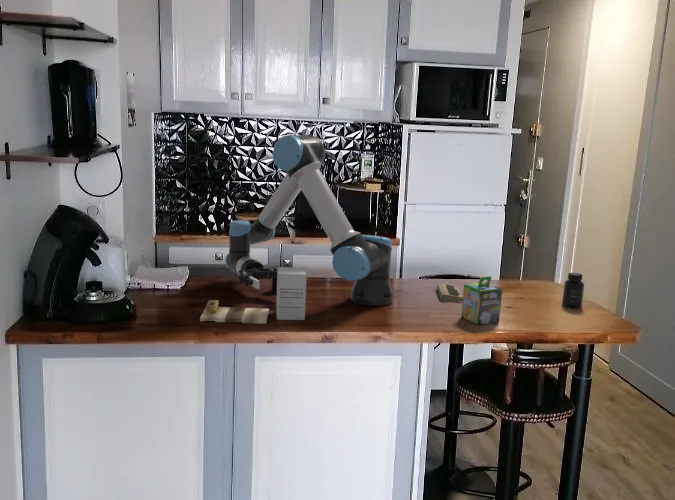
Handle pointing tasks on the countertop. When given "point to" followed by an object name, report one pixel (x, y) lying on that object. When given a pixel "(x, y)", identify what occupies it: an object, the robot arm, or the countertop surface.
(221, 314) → the plywood board
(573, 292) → the supplement bottle
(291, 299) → the supplement box
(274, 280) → the digital camera
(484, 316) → the chalk box
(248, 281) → the robot arm
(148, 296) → the countertop surface
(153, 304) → the countertop surface
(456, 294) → the tan flat block
